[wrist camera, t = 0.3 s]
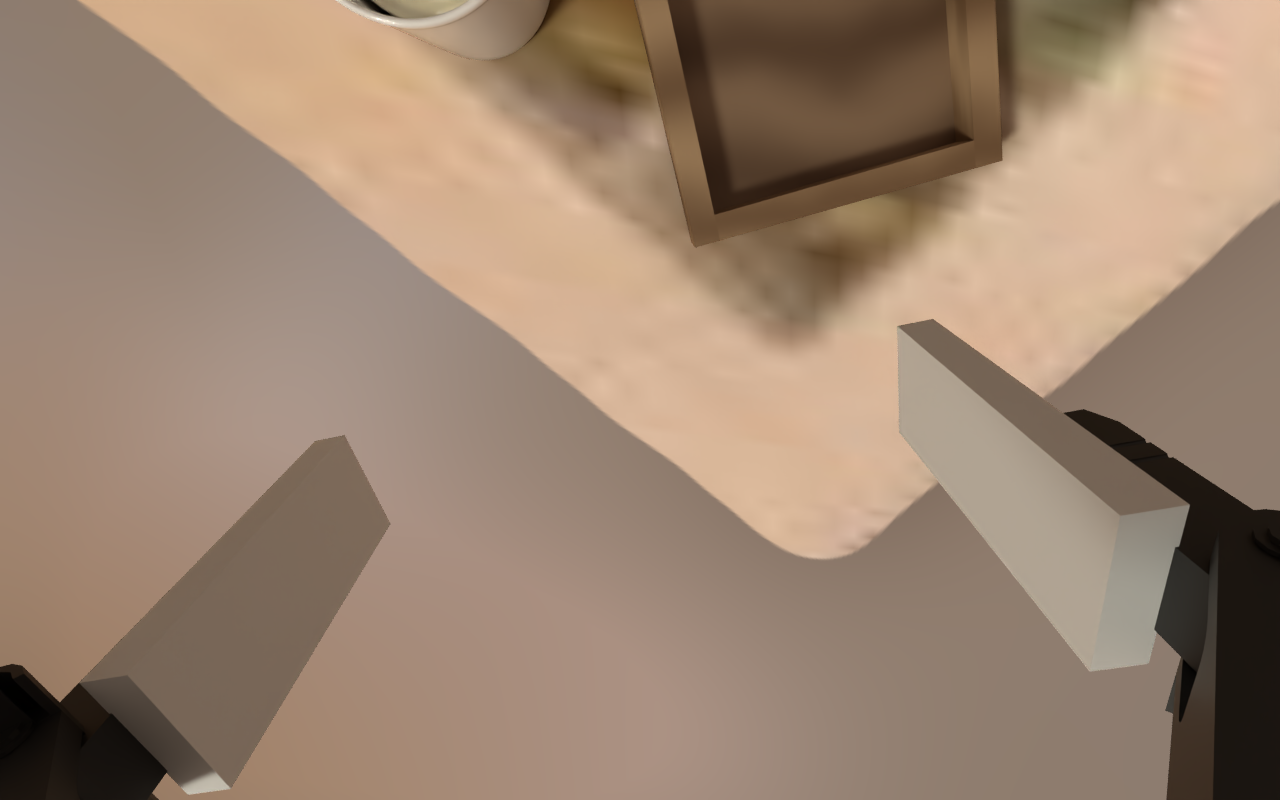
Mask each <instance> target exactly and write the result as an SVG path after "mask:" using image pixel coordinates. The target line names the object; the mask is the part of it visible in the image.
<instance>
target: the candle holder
mask: <svg viewBox="0 0 1280 800" xmlns="http://www.w3.org/2000/svg"><path fill="white" fill-rule="evenodd" d="M336 1H337V2H338V3H340V4H341V5H343V6H344V7H346V8H347V9H349V10H351V11H352V12H354V13H356V14H358V15H360V16H362V17H364V18H366V19H369V20H371V21H374V22H377V23H380V24H383V25H387V26H390V27H392V28H394V29H397V30H399V31H401V32H403V33H406V34H408V35H410V36H412V37H415V38H417V39H419V40H421V41H424V42H426V43H428V44H430V45H433V46H435V47H437V48H439V49H442V50H444V51H446V52H449V53H451V54H454V55H457V56H460V57H463V58H467V59H472V60H494V59H499V58H502V57H505V56H508V55H510V54H512V53H514V52H516V51H517V50H519V49H520V48H521V47H523V46H524V45H525V44H526V43H527V42H528V41H529V40H530V39H531V38H532V37H533V36H534V34H535V33H536V32H537V30H538V28H539V27H540V25H541V23H542V21H543V19H544V17H545V14H546V12H547V9H548V5H549V1H550V0H336Z"/></svg>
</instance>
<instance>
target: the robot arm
mask: <svg viewBox="0 0 1280 800" xmlns="http://www.w3.org/2000/svg"><path fill="white" fill-rule="evenodd" d="M897 336H898V393H899V433H900V434H901V435H902V436H903V438H904V439H905V440H906V441H907V443H908V444H909V445H910V446H911V448H912V449H913V450H914V451H915V453H916V454H917V455H918V456H919V458H920V459H921V460H922V461H923V463H924V464H925V465H926V466H927V468H928V469H929V470H930V472H931V473H932V474H933V475H934V477H935V478H936V479H937V480H938V482H939V483H940V484H941V485H942V487H943V488H944V489H945V490H946V492H947V493H948V494H949V495H950V497H951V498H952V499H953V500H954V501H955V503H956V504H957V505H958V507H959V508H960V509H961V510H962V512H963V513H964V514H965V515H966V517H967V518H968V519H969V520H970V522H971V523H972V524H973V525H974V527H975V528H976V529H977V530H978V532H979V533H980V534H981V536H982V537H983V538H984V539H985V540H986V541H987V543H988V544H989V546H990V547H991V548H992V549H993V551H994V552H995V553H996V554H997V556H998V557H999V558H1000V559H1001V561H1002V562H1003V563H1004V564H1005V565H1006V567H1007V568H1008V569H1009V570H1010V572H1011V573H1012V574H1013V576H1014V577H1015V578H1016V579H1017V580H1018V582H1019V583H1020V584H1021V586H1022V587H1023V588H1024V589H1025V591H1026V592H1027V593H1028V594H1029V596H1030V597H1031V598H1032V599H1033V600H1034V602H1035V603H1036V605H1037V606H1038V607H1039V608H1040V610H1041V611H1042V612H1043V613H1044V615H1045V616H1046V617H1047V618H1048V620H1049V621H1050V622H1051V623H1052V625H1053V626H1054V627H1055V628H1056V630H1057V631H1058V632H1059V633H1060V635H1061V636H1062V637H1063V638H1064V640H1065V641H1066V642H1067V643H1068V645H1069V646H1070V647H1071V648H1072V650H1073V651H1074V652H1075V653H1076V655H1077V656H1078V657H1079V658H1080V660H1081V661H1082V662H1083V664H1084V665H1085V666H1086V667H1087V668H1088V670H1089V671H1090V672H1091V671H1097V670H1106V669H1113V668H1120V667H1128V666H1135V665H1141V664H1148V663H1149V660H1150V656H1151V653H1152V649H1153V645H1154V641H1155V637H1156V633H1158V634H1159V635H1160V636H1161V637H1162V638H1163V639H1164V640H1165V641H1166V642H1167V643H1168V644H1169V645H1170V646H1171V647H1172V648H1173V649H1174V650H1175V651H1176V652H1177V653H1178V654H1179V655H1180V656H1181V659H1180V663H1179V666H1178V669H1177V673H1176V676H1175V680H1174V683H1173V687H1172V690H1171V693H1170V697H1169V700H1168V704H1167V707H1166V711H1168V712H1171V713H1173V722H1172V735H1171V749H1170V761H1169V774H1168V788H1167V800H1280V511H1277V510H1267V509H1263V510H1253V509H1251V508H1250V507H1248V506H1247V505H1245V504H1243V503H1242V502H1241V501H1239V500H1237V499H1236V498H1234V497H1233V496H1231V495H1230V494H1228V493H1227V492H1225V491H1224V490H1222V489H1220V488H1219V487H1218V486H1216V485H1215V484H1213V483H1211V482H1210V481H1208V480H1207V479H1205V478H1204V477H1202V476H1201V475H1199V474H1198V473H1196V472H1195V471H1193V470H1192V469H1190V468H1189V467H1187V466H1185V465H1184V464H1183V463H1181V462H1179V461H1178V460H1176V459H1175V458H1173V457H1172V458H1169V457H1168V455H1167V453H1166V452H1164V451H1163V450H1161V449H1160V448H1158V447H1157V446H1155V445H1154V444H1152V443H1146V441H1145V439H1144V438H1143V437H1141V436H1140V435H1138V434H1137V433H1135V432H1134V431H1132V430H1131V429H1129V428H1128V427H1126V426H1125V425H1123V424H1121V423H1120V422H1118V421H1115V420H1113V419H1110V418H1107V417H1104V416H1101V415H1098V414H1096V413H1093V412H1090V411H1087V410H1084V409H1083V410H1077V411H1072V412H1067V413H1062V412H1061V411H1060V410H1058V409H1057V408H1055V407H1054V406H1053V405H1051V404H1050V403H1048V402H1047V401H1046V400H1044V399H1043V398H1042V397H1040V396H1039V395H1037V394H1036V393H1035V392H1033V391H1032V390H1030V389H1029V388H1028V387H1026V386H1025V385H1024V384H1022V383H1021V382H1019V381H1018V380H1017V379H1015V378H1014V377H1012V376H1011V375H1010V374H1008V373H1007V372H1006V371H1004V370H1003V369H1001V368H1000V367H999V366H997V365H996V364H994V363H993V362H992V361H990V360H989V359H988V358H986V357H985V356H983V355H982V354H981V353H979V352H978V351H976V350H975V349H974V348H972V347H971V346H970V345H968V344H967V343H965V342H964V341H963V340H961V339H960V338H958V337H957V336H956V335H954V334H953V333H952V332H950V331H949V330H947V329H946V328H945V327H943V326H942V325H940V324H939V323H938V322H936V321H935V320H934V319H931V320H926V321H921V322H916V323H911V324H906V325H901V326H897ZM389 525H390V522H389V520H388V518H387V516H386V514H385V512H384V510H383V509H382V506H381V505H380V503H379V501H378V499H377V497H376V495H375V493H374V491H373V489H372V487H371V485H370V483H369V481H368V480H367V477H366V476H365V474H364V472H363V470H362V468H361V466H360V464H359V462H358V460H357V459H356V456H355V455H354V453H353V450H352V449H351V447H350V445H349V443H348V441H347V439H346V437H345V435H343V436H338V437H334V438H328V439H323V440H318V441H315V442H314V443H313V444H312V445H311V446H310V447H309V448H308V449H307V450H306V451H305V453H303V454H302V455H301V456H300V457H299V458H298V459H297V460H296V461H295V463H294V464H293V465H292V466H291V467H290V468H289V469H288V470H287V471H286V472H285V473H284V474H283V475H282V476H281V477H280V478H279V479H278V480H277V481H276V482H275V483H274V484H273V485H272V486H271V487H270V488H269V489H268V490H267V491H266V492H265V493H264V494H263V495H262V496H261V497H260V498H259V499H258V501H256V502H255V503H254V505H252V507H251V508H250V509H249V510H248V511H247V512H246V513H245V514H244V515H243V516H242V517H241V518H240V519H239V520H238V521H237V522H236V523H235V524H234V525H233V526H232V527H231V528H230V529H229V530H228V531H227V532H226V533H225V534H224V535H223V536H222V537H221V538H220V539H219V540H218V541H217V542H216V543H215V544H214V545H213V546H212V547H211V548H210V549H209V551H208V552H207V553H206V554H205V555H204V556H203V557H202V558H201V559H200V560H199V561H198V562H197V563H196V564H195V565H194V566H193V567H192V568H191V569H190V570H189V571H188V572H187V573H186V574H185V575H184V576H183V577H182V578H181V579H180V580H179V581H178V582H177V583H176V584H175V586H173V587H172V588H171V589H170V590H169V591H168V592H167V593H166V594H165V595H164V596H163V597H162V598H161V600H160V601H159V602H158V603H157V604H156V605H155V606H154V607H153V608H152V609H151V610H150V611H149V612H148V613H147V614H146V615H145V616H144V617H143V618H142V619H141V620H140V621H139V622H138V623H137V624H136V625H135V626H134V627H133V628H132V629H131V630H130V631H129V632H128V633H127V635H125V636H124V637H123V638H122V639H121V640H120V641H119V642H118V644H116V646H115V647H114V648H113V649H112V650H111V651H110V652H109V653H108V654H107V655H106V656H105V657H104V658H103V659H102V660H101V661H100V662H99V663H98V664H97V665H96V666H95V667H94V668H93V669H92V670H91V671H90V672H89V673H88V674H87V675H86V676H85V677H84V678H83V679H82V680H81V681H80V682H79V683H78V684H77V685H76V687H74V688H73V690H72V691H71V692H70V693H69V694H68V695H67V696H66V697H65V698H64V699H63V700H62V701H61V702H59V701H57V699H55V698H54V697H53V696H52V695H51V694H50V693H49V692H48V691H47V690H46V689H45V688H44V687H43V686H42V685H41V684H40V683H39V682H38V681H37V680H36V679H35V678H34V677H33V676H32V675H31V674H30V673H29V672H28V671H27V670H26V669H25V668H24V667H23V666H21V665H15V664H10V665H6V666H3V667H0V800H159V799H158V798H156V797H155V796H154V795H153V794H152V792H153V790H154V789H155V788H156V786H157V785H158V783H159V782H160V781H161V779H162V778H163V777H164V775H165V774H166V773H167V774H168V775H169V776H170V777H171V778H172V779H173V780H174V781H175V782H176V783H177V784H178V785H179V786H180V787H181V788H182V789H183V790H184V791H185V792H186V793H187V794H196V793H203V792H211V791H218V790H225V789H231V788H232V786H233V784H234V783H235V781H236V779H237V778H238V776H239V774H240V773H241V771H242V769H243V768H244V766H245V764H246V763H247V761H248V759H249V758H250V756H251V754H252V753H253V751H254V749H255V748H256V746H257V745H258V743H259V741H260V740H261V738H262V736H263V735H264V733H265V731H266V730H267V728H268V726H269V725H270V723H271V721H272V720H273V718H274V716H275V714H276V713H277V711H278V710H279V708H280V706H281V705H282V703H283V701H284V700H285V698H286V696H287V695H288V693H289V691H290V690H291V688H292V686H293V684H294V683H295V681H296V680H297V678H298V676H299V675H300V673H301V671H302V670H303V668H304V666H305V665H306V663H307V662H308V660H309V658H310V657H311V655H312V653H313V652H314V650H315V648H316V647H317V645H318V643H319V642H320V640H321V638H322V637H323V635H324V633H325V631H326V630H327V628H328V627H329V625H330V623H331V622H332V619H333V618H334V616H335V615H336V613H337V612H338V610H339V608H340V607H341V605H342V603H343V602H344V600H345V598H346V596H347V595H348V593H349V592H350V590H351V588H352V587H353V585H354V583H355V582H356V580H357V578H358V577H359V575H360V573H361V572H362V570H363V568H364V567H365V565H366V564H367V562H368V560H369V559H370V557H371V555H372V554H373V552H374V550H375V548H376V547H377V545H378V543H379V542H380V540H381V539H382V537H383V535H384V534H385V532H386V530H387V529H388V527H389Z"/></svg>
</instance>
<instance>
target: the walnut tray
mask: <svg viewBox="0 0 1280 800" xmlns="http://www.w3.org/2000/svg"><path fill="white" fill-rule="evenodd" d="M634 2H635V6H636V10H637V14H638V19H639V23H640V27H641V31H642V36H643V40H644V44H645V48H646V52H647V57H648V61H649V65H650V69H651V73H652V78H653V82H654V86H655V90H656V95H657V99H658V103H659V107H660V111H661V116H662V120H663V124H664V128H665V133H666V137H667V141H668V145H669V149H670V154H671V158H672V162H673V166H674V171H675V175H676V179H677V183H678V187H679V192H680V196H681V200H682V204H683V208H684V213H685V217H686V221H687V225H688V230H689V234H690V238H691V242H692V244H693V245H694V246H695V247H698V246H702V245H705V244H709V243H713V242H716V241H720V240H723V239H727V238H730V237H734V236H737V235H741V234H744V233H748V232H751V231H755V230H758V229H762V228H766V227H769V226H773V225H776V224H780V223H783V222H787V221H790V220H794V219H797V218H801V217H804V216H808V215H811V214H815V213H819V212H822V211H826V210H829V209H833V208H836V207H840V206H843V205H847V204H850V203H854V202H857V201H861V200H865V199H868V198H872V197H875V196H879V195H882V194H886V193H889V192H893V191H896V190H900V189H903V188H907V187H910V186H914V185H918V184H921V183H925V182H928V181H932V180H935V179H939V178H942V177H946V176H949V175H953V174H956V173H960V172H963V171H967V170H971V169H974V168H978V167H981V166H985V165H988V164H992V163H995V162H999V161H1002V138H1001V116H1000V94H999V72H998V50H997V27H996V5H995V0H634Z"/></svg>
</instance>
